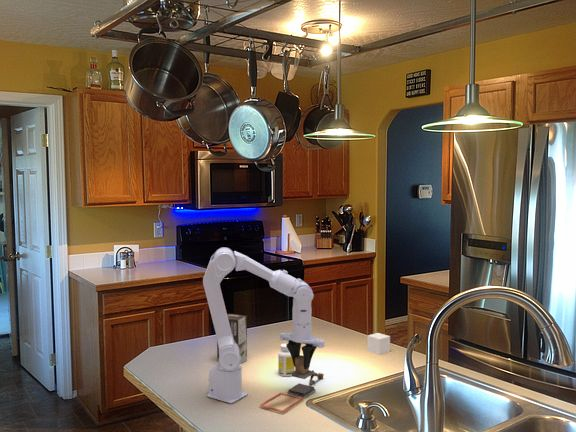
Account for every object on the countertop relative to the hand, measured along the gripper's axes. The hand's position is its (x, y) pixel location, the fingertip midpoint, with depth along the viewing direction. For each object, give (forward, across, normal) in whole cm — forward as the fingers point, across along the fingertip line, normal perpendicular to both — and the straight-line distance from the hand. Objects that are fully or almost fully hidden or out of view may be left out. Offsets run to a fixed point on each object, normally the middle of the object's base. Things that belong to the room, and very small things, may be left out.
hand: (301, 366), depth 163 cm
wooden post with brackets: (+8, +1, -10) cm, 13 cm away
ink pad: (+8, 0, 0) cm, 8 cm away
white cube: (+8, -4, -50) cm, 51 cm away
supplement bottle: (+8, +12, -11) cm, 19 cm away
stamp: (+3, 0, 0) cm, 3 cm away
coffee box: (+8, +36, -11) cm, 38 cm away
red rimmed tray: (+8, 0, +10) cm, 13 cm away
